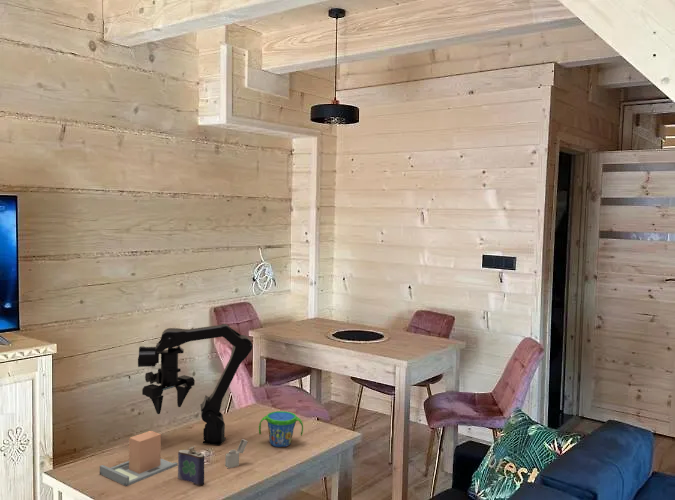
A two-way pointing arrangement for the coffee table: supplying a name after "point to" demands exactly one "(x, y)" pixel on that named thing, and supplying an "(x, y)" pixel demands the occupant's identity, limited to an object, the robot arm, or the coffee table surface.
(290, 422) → the snack cup
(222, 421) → the robot arm
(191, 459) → the flask
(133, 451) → the terracotta block
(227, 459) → the lighter
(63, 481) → the coffee table surface
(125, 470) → the slate lane
